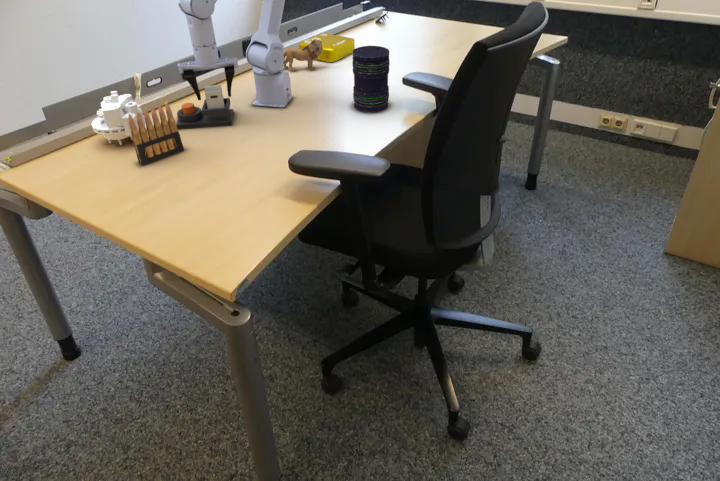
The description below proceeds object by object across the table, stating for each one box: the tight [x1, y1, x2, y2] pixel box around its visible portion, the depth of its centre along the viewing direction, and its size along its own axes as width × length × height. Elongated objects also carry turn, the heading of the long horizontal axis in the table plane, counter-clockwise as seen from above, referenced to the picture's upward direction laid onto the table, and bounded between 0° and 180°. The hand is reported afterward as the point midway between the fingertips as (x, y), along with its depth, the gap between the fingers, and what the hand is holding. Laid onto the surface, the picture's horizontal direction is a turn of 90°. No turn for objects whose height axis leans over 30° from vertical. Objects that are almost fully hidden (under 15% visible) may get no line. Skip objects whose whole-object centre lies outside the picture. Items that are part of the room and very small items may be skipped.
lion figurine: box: [281, 39, 323, 72], centre depth 165 cm, size 15×5×9 cm, turn 102°
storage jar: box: [351, 45, 391, 114], centre depth 139 cm, size 10×10×15 cm
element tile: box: [298, 32, 356, 63], centre depth 178 cm, size 15×15×5 cm
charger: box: [203, 84, 225, 109], centre depth 134 cm, size 4×5×6 cm
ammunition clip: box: [128, 102, 185, 166], centre depth 118 cm, size 11×2×12 cm, turn 133°
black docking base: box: [176, 106, 235, 130], centre depth 136 cm, size 14×8×3 cm, turn 98°
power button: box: [181, 102, 196, 114], centre depth 135 cm, size 3×3×2 cm
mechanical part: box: [91, 90, 146, 146], centre depth 125 cm, size 11×12×12 cm
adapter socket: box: [201, 97, 231, 116], centre depth 135 cm, size 7×7×2 cm
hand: (214, 97), depth 134 cm, fingers open, 7 cm apart
